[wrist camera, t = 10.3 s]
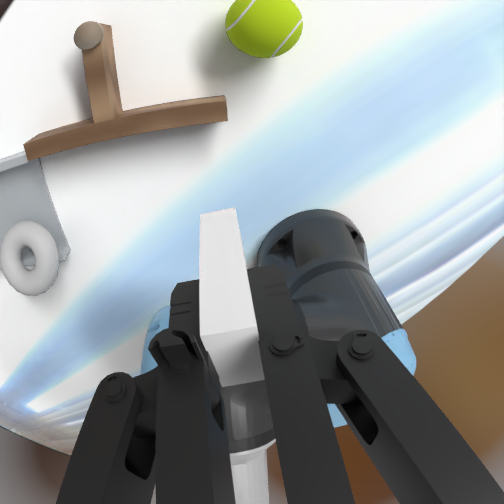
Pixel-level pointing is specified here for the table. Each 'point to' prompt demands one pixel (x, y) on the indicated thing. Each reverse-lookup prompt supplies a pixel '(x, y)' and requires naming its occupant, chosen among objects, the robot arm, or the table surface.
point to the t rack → (117, 103)
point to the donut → (44, 257)
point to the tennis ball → (264, 26)
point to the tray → (28, 202)
